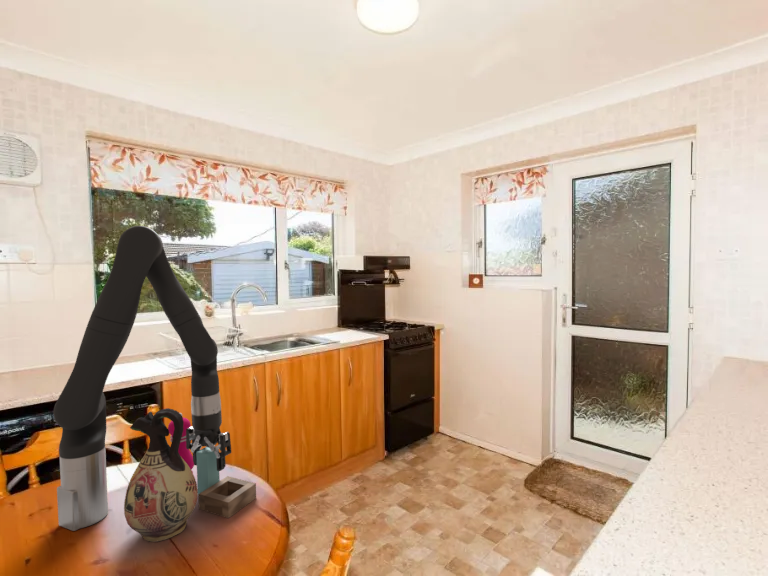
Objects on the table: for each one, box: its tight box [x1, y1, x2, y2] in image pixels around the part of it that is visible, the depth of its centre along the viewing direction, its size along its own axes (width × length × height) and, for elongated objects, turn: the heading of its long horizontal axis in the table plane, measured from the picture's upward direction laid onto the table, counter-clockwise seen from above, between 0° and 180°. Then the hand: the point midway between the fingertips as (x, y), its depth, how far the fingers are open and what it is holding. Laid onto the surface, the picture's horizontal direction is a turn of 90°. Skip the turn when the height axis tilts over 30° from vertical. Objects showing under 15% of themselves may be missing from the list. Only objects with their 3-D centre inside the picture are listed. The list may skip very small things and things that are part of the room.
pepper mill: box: [167, 412, 195, 474], centre depth 123 cm, size 7×7×20 cm
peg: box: [196, 446, 221, 496], centre depth 116 cm, size 4×4×12 cm
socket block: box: [198, 475, 257, 519], centre depth 110 cm, size 10×10×4 cm
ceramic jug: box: [123, 408, 199, 543], centre depth 98 cm, size 17×15×30 cm
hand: (209, 467), depth 116 cm, fingers open, 8 cm apart
